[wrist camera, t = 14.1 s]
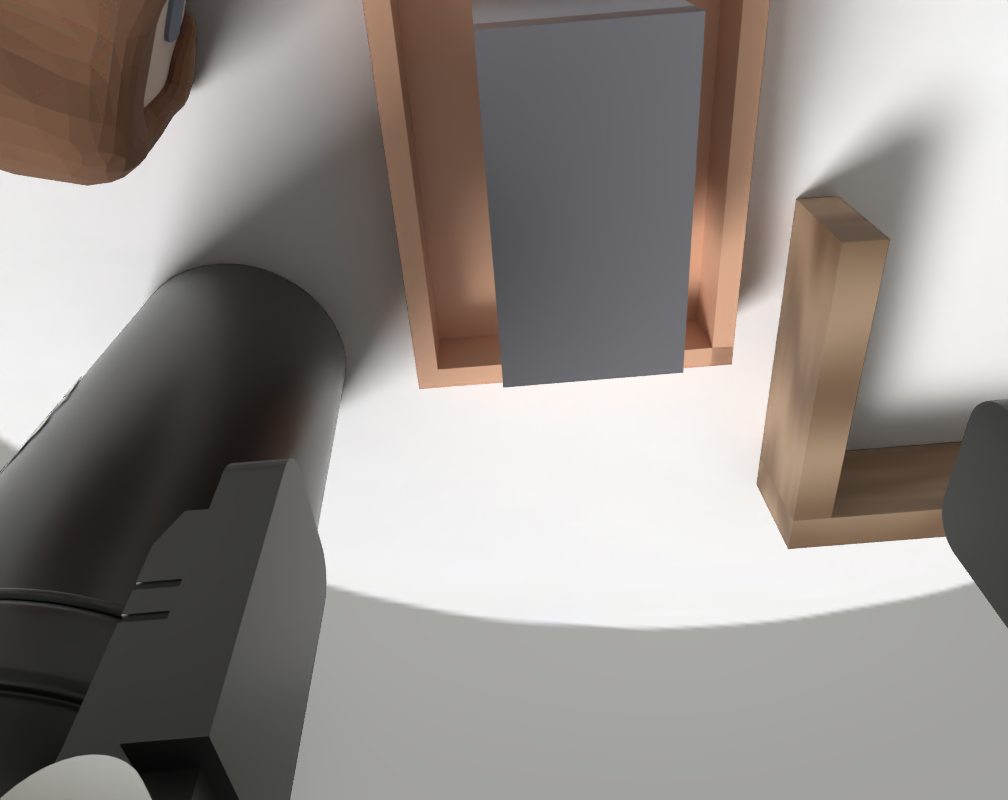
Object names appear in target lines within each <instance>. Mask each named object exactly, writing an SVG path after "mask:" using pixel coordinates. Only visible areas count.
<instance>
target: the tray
mask: <svg viewBox="0 0 1008 800" xmlns="http://www.w3.org/2000/svg"><path fill="white" fill-rule="evenodd" d="M362 1H363V7H364V14H365V21H366V28H367V35H368V42H369V48H370V55H371V62H372V69H373V76H374V83H375V89H376V96H377V103H378V110H379V117H380V124H381V130H382V137H383V144H384V151H385V158H386V165H387V171H388V178H389V185H390V192H391V199H392V206H393V212H394V219H395V226H396V233H397V240H398V247H399V253H400V260H401V267H402V274H403V281H404V288H405V294H406V301H407V308H408V315H409V322H410V329H411V335H412V342H413V349H414V356H415V363H416V370H417V376H418V383H419V389H425V388H438V387H451V386H463V385H476V384H489V383H501V382H503V378H502V366H501V354H500V342H499V330H498V318H497V306H496V294H495V282H494V270H493V258H492V246H491V234H490V222H489V210H488V198H487V186H486V174H485V162H484V150H483V138H482V126H481V114H480V102H479V90H478V78H477V66H476V54H475V42H474V30H473V17H472V4H471V0H362ZM686 1H687V2H689V3H691V4H693V5H695V6H697V7H699V8H701V9H703V10H705V11H706V12H705V28H704V44H703V61H702V77H701V93H700V109H699V125H698V141H697V157H696V173H695V190H694V206H693V222H692V238H691V254H690V270H689V286H688V303H687V319H686V335H685V351H684V367H683V368H691V367H704V366H717V365H729V364H732V355H733V345H734V336H735V326H736V317H737V307H738V298H739V288H740V279H741V269H742V260H743V250H744V241H745V231H746V222H747V212H748V203H749V193H750V184H751V174H752V165H753V155H754V146H755V137H756V127H757V118H758V108H759V99H760V89H761V80H762V70H763V61H764V51H765V42H766V32H767V23H768V13H769V4H770V0H686Z"/></svg>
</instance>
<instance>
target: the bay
mask: <svg viewBox="0 0 1008 800" xmlns="http://www.w3.org/2000/svg"><path fill="white" fill-rule="evenodd" d="M889 241H890V239H889V238H888V237H887V236H885V235H884V234H883V233H882V232H881V231H879V230H878V229H877V228H876V227H875V226H873V225H872V224H871V223H870V222H869V221H867V220H866V219H865V218H864V217H863V216H861V215H860V214H859V213H858V212H857V211H855V210H854V209H853V208H852V207H851V206H849V205H848V204H847V203H846V202H845V201H843V200H842V199H841V198H840V197H839V196H832V197H819V198H806V199H796V204H795V212H794V219H793V226H792V233H791V240H790V248H789V255H788V262H787V269H786V276H785V284H784V291H783V298H782V305H781V313H780V320H779V327H778V334H777V341H776V349H775V356H774V363H773V370H772V377H771V385H770V392H769V399H768V406H767V413H766V421H765V428H764V435H763V442H762V450H761V457H760V464H759V471H758V478H757V486H758V488H759V490H760V492H761V494H762V496H763V498H764V500H765V502H766V505H767V507H768V509H769V511H770V513H771V515H772V517H773V519H774V521H775V523H776V525H777V527H778V529H779V531H780V533H781V535H782V537H783V539H784V541H785V543H786V545H787V547H788V549H794V548H807V547H820V546H832V545H845V544H857V543H870V542H883V541H895V540H908V539H921V538H933V537H946V535H945V531H944V527H943V521H942V505H943V499H944V496H945V493H946V489H947V486H948V483H949V480H950V477H951V474H952V471H953V468H954V465H955V461H956V458H957V455H958V452H959V449H960V446H961V443H962V442H954V443H941V444H928V445H916V446H903V447H890V448H878V449H865V450H853V451H845V450H846V445H847V440H848V435H849V431H850V426H851V421H852V416H853V412H854V407H855V402H856V397H857V393H858V388H859V383H860V378H861V374H862V369H863V364H864V359H865V355H866V350H867V345H868V340H869V336H870V331H871V326H872V321H873V317H874V312H875V307H876V302H877V298H878V293H879V288H880V283H881V279H882V274H883V269H884V264H885V260H886V255H887V250H888V245H889Z"/></svg>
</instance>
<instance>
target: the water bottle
mask: <svg viewBox="0 0 1008 800" xmlns="http://www.w3.org/2000/svg"><path fill="white" fill-rule="evenodd" d="M345 372H346V360H345V352H344V348H343V344H342V341H341V338H340V335H339V333H338V331H337V329H336V327H335V325H334V323H333V322H332V320H331V318H330V317H329V316H328V314H327V313H326V312H325V310H324V309H323V308H322V307H321V306H320V305H319V304H318V303H317V301H316V300H314V299H313V298H312V297H311V296H310V295H309V294H308V293H306V292H305V291H304V290H302V289H301V288H300V287H298V286H297V285H295V284H294V283H292V282H290V281H288V280H286V279H285V278H283V277H280V276H278V275H276V274H274V273H271V272H268V271H265V270H262V269H258V268H255V267H250V266H244V265H236V264H215V265H207V266H202V267H198V268H194V269H191V270H188V271H185V272H183V273H181V274H179V275H177V276H175V277H173V278H171V279H170V280H168V281H167V282H166V283H164V284H163V285H162V286H161V287H159V288H158V289H157V290H156V291H155V293H154V294H153V295H152V296H151V297H150V298H149V300H148V301H147V302H146V303H145V304H144V305H143V307H142V308H141V309H140V310H139V311H138V313H137V314H136V315H135V316H134V317H133V318H132V320H131V321H130V322H129V323H128V324H127V326H126V327H125V328H124V329H123V330H122V331H121V333H120V334H119V335H118V336H117V337H116V338H115V340H114V341H113V342H112V343H111V344H110V346H109V347H108V348H107V349H106V350H105V351H104V353H103V354H102V355H101V356H100V357H99V359H98V360H97V361H96V362H95V363H94V364H93V366H92V367H91V368H90V369H89V370H88V372H87V373H86V374H85V375H84V376H83V377H82V376H81V377H82V379H81V378H79V380H78V381H77V382H76V383H75V384H74V385H73V387H72V388H71V389H70V390H69V391H68V393H67V394H66V395H65V396H64V397H65V398H64V397H63V398H64V399H63V398H62V400H61V402H60V403H58V404H57V405H56V407H55V408H54V410H52V411H51V412H52V413H51V414H50V415H48V416H47V417H46V418H45V419H44V422H42V423H41V424H40V425H39V426H38V428H37V429H36V430H35V431H34V432H33V434H32V435H31V436H30V437H29V438H28V439H29V440H28V439H27V441H26V442H25V443H24V444H23V445H22V446H23V447H22V446H21V447H22V448H20V449H19V450H18V451H17V452H16V454H15V455H14V456H13V458H11V460H10V462H9V463H8V464H7V465H6V467H5V468H4V469H3V471H2V470H1V471H2V472H1V471H0V472H1V474H0V798H1V797H3V796H4V795H5V794H6V793H7V792H8V791H10V790H11V789H12V788H13V787H14V786H16V785H17V784H19V783H20V782H21V781H23V780H24V779H26V778H27V777H29V776H30V775H32V774H34V773H36V772H37V771H39V770H41V769H43V768H45V767H47V766H49V765H52V764H54V763H55V761H56V759H57V757H58V755H59V753H60V752H61V750H62V748H63V745H64V743H65V741H66V739H67V736H68V734H69V732H70V730H71V727H72V725H73V723H74V721H75V718H76V716H77V714H78V712H79V709H80V707H81V705H82V703H83V700H84V698H85V696H86V694H87V691H88V689H89V687H90V685H91V682H92V680H93V678H94V676H95V673H96V671H97V669H98V667H99V664H100V662H101V660H102V658H103V655H104V653H105V651H106V649H107V646H108V644H109V642H110V640H111V637H112V635H113V633H114V631H115V628H116V626H117V624H118V623H121V622H122V612H123V610H124V608H125V606H126V603H127V601H128V599H129V597H130V594H131V592H132V590H136V581H137V579H138V576H139V574H140V572H141V570H142V567H143V565H144V563H145V561H146V558H147V556H148V554H149V552H150V549H151V547H152V545H153V544H154V543H155V542H156V541H157V540H158V539H159V538H160V536H161V535H162V534H163V533H164V532H165V531H166V530H167V529H168V528H169V527H170V526H171V525H172V524H173V523H174V522H175V521H176V520H177V519H178V518H179V517H180V516H181V515H182V514H183V512H184V511H191V510H203V509H209V507H210V505H211V502H212V500H213V497H214V494H215V492H216V489H217V487H218V484H219V481H220V479H221V476H222V473H223V471H224V469H225V468H226V466H227V465H229V464H231V463H242V462H254V461H266V460H277V459H289V458H293V459H295V460H296V461H297V463H298V465H299V467H300V470H301V473H302V476H303V480H304V483H305V487H306V491H307V494H308V498H309V502H310V505H311V509H312V512H313V516H314V520H315V523H316V527H317V529H318V523H319V518H320V512H321V507H322V501H323V496H324V490H325V484H326V479H327V473H328V468H329V462H330V457H331V451H332V446H333V440H334V435H335V429H336V423H337V418H338V412H339V407H340V401H341V396H342V390H343V385H344V379H345ZM80 379H81V380H80ZM31 437H32V438H31Z"/></svg>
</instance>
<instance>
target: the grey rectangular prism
mask: <svg viewBox="0 0 1008 800" xmlns="http://www.w3.org/2000/svg"><path fill="white" fill-rule="evenodd" d="M471 4H472V17H473V30H474V42H475V54H476V66H477V78H478V90H479V102H480V114H481V126H482V138H483V150H484V162H485V174H486V186H487V198H488V210H489V222H490V234H491V246H492V258H493V270H494V282H495V294H496V306H497V318H498V330H499V342H500V354H501V366H502V378H503V387H514V386H526V385H539V384H551V383H563V382H575V381H587V380H599V379H611V378H623V377H635V376H647V375H659V374H671V373H683V367H684V351H685V335H686V319H687V303H688V286H689V270H690V254H691V238H692V222H693V206H694V190H695V173H696V157H697V141H698V125H699V109H700V93H701V77H702V61H703V44H704V28H705V12H706V11H705V10H703V9H701V8H699V7H697V6H695V5H693V4H691V3H689V2H687V1H686V0H471Z"/></svg>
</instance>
